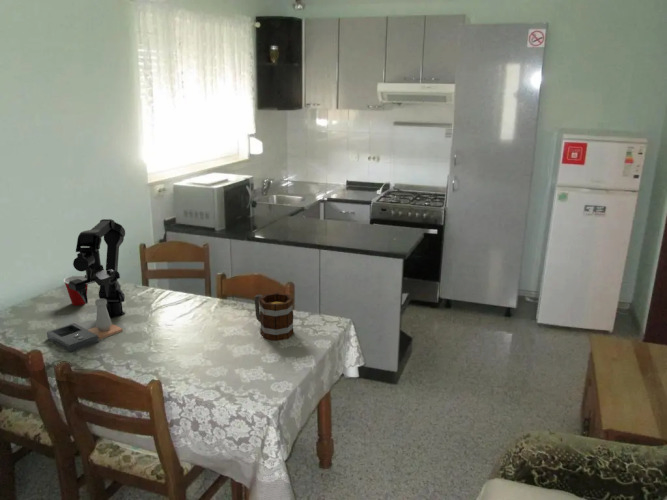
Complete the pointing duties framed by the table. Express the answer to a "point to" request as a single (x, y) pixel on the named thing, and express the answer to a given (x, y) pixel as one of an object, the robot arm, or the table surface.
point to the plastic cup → (73, 294)
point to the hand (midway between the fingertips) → (97, 299)
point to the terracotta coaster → (111, 331)
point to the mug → (275, 315)
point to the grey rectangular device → (72, 337)
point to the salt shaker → (102, 315)
